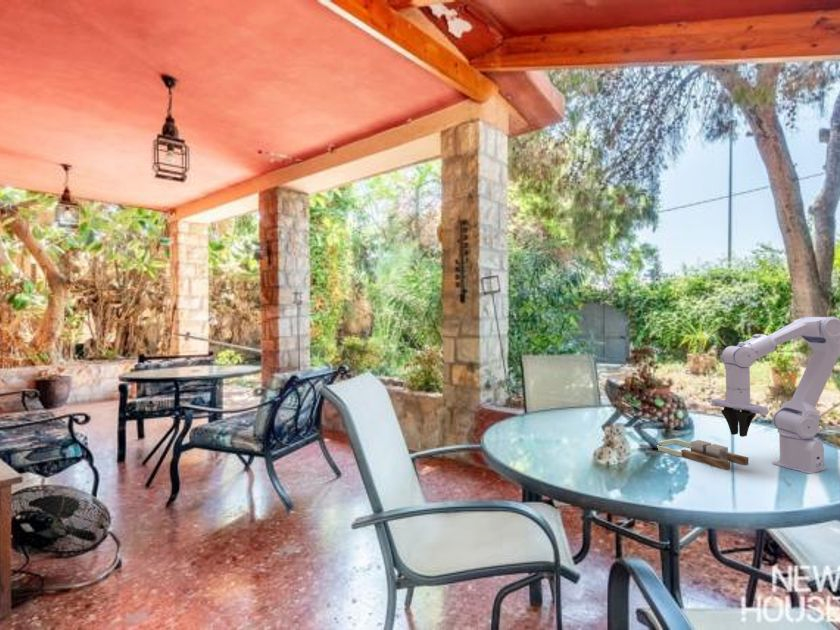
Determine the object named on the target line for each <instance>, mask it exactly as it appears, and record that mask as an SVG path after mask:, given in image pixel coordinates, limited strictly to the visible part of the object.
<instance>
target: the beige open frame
mask: <svg viewBox="0 0 840 630" xmlns="http://www.w3.org/2000/svg"><path fill="white" fill-rule="evenodd" d="M657 442H658V443H659V444H661V445H664V446H659V445H657V448H658V450H657V451H659V452H663V453H665V454H669V455H673V456H676V457H679V458H683V457H682V452H681V451H680V450H676V449H674V448H673V449H672V448H670V447H666V446H670V445H677V446H678V445H679V446H683V447H686V448H690V449H691V442H689V441H684V440H682V439H681V440H680V439H677V438H669V439H666V440H660V441H657Z"/></svg>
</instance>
